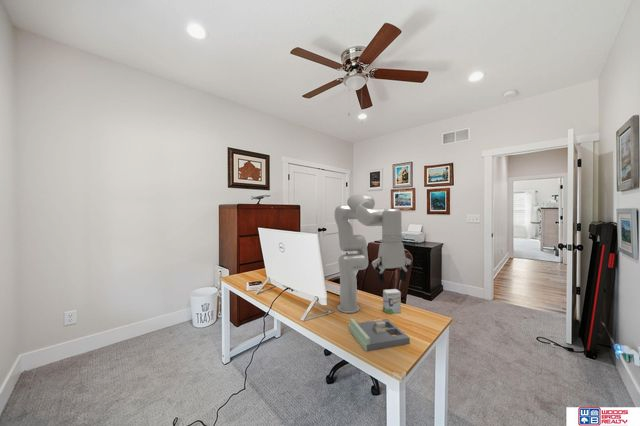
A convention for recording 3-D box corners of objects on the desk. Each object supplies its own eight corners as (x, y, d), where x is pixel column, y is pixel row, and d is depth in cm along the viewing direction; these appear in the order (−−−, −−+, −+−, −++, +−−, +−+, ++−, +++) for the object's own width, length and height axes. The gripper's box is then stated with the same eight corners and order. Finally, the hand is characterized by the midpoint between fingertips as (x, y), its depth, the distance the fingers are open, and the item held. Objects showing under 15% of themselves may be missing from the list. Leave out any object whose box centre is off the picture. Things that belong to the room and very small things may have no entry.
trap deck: (348, 329, 113) (348, 319, 113) (387, 323, 118) (387, 313, 118) (365, 351, 95) (365, 338, 95) (409, 343, 100) (409, 331, 100)
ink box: (396, 309, 135) (396, 288, 135) (401, 312, 130) (401, 291, 130) (382, 310, 134) (382, 289, 134) (386, 314, 129) (386, 292, 129)
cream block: (373, 328, 108) (372, 320, 108) (380, 327, 109) (380, 319, 109) (377, 333, 104) (377, 324, 104) (385, 331, 105) (385, 323, 105)
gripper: (405, 237, 101) (405, 277, 101) (368, 239, 97) (368, 280, 97) (416, 239, 94) (416, 282, 94) (376, 241, 90) (376, 286, 90)
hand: (392, 281), depth 95 cm, fingers open, 9 cm apart
